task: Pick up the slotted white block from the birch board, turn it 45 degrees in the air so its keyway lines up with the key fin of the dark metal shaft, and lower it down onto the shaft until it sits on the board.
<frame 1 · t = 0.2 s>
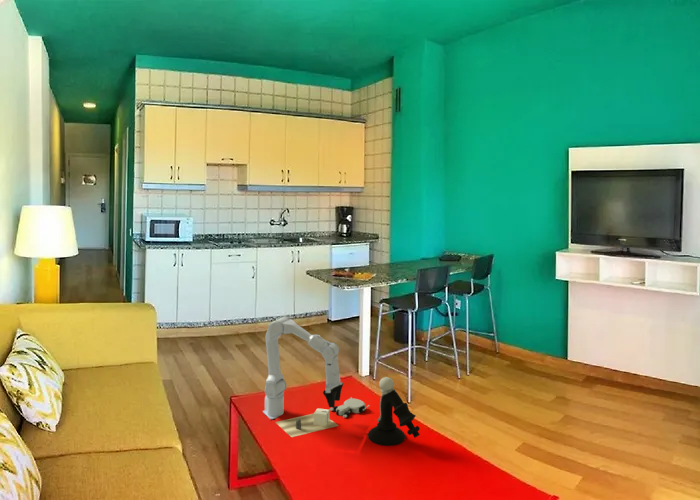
hand: (334, 403, 223), 10 cm above the table, tool pointing down, fingers open, 7 cm apart
slotted white block: (321, 422, 224), point 1 cm above the table, touching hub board
sculpture: (394, 441, 211), on the table
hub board: (306, 426, 223), on the table
robot toy: (349, 413, 237), on the table
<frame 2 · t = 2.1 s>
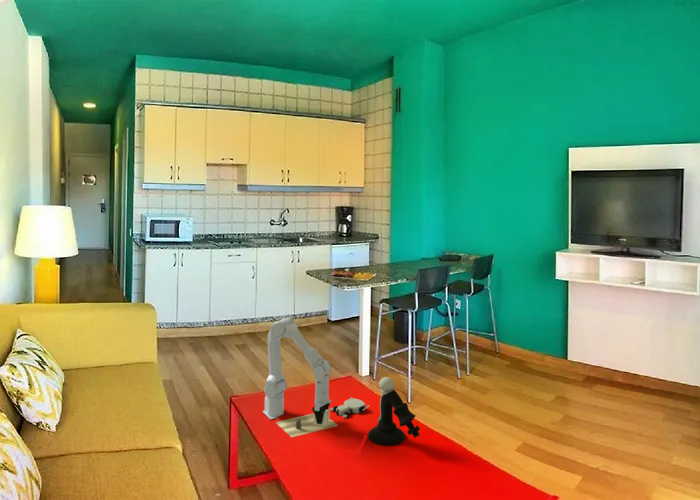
hand: (321, 420, 224), 2 cm above the table, tool pointing down, fingers closed on slotted white block, 5 cm apart
slotted white block: (321, 422, 224), point 1 cm above the table, touching gripper, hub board
everything else where it was.
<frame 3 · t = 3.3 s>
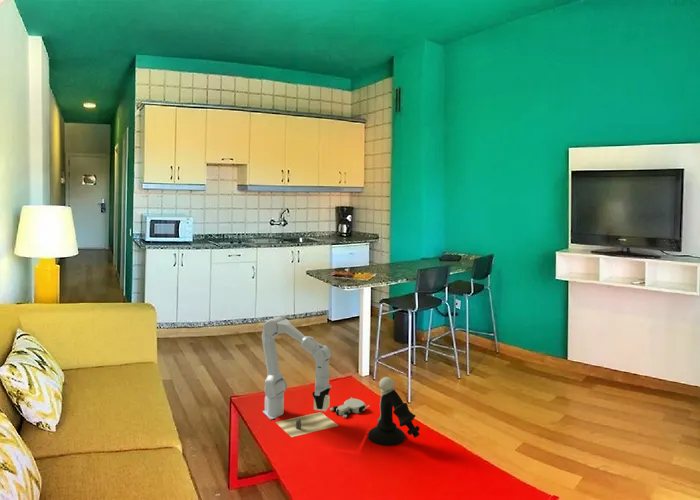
hand: (321, 405, 223), 8 cm above the table, tool pointing down, fingers closed on slotted white block, 5 cm apart
slotted white block: (321, 408, 224), point 8 cm above the table, touching gripper
everything else where it was.
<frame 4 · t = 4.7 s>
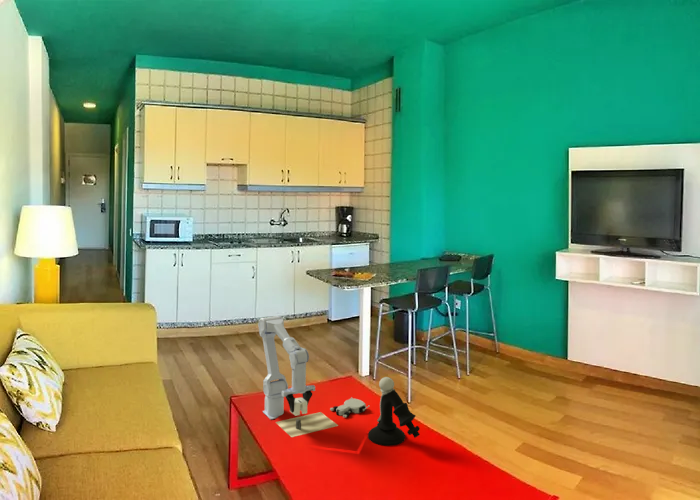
hand: (298, 410, 218), 9 cm above the table, tool pointing down, fingers closed on slotted white block, 5 cm apart
slotted white block: (298, 412, 218), point 8 cm above the table, touching gripper
everything else where it was.
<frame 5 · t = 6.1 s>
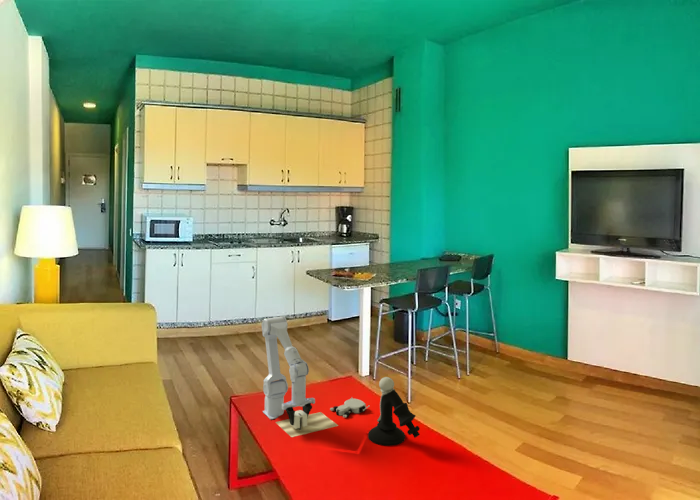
hand: (298, 422, 218), 3 cm above the table, tool pointing down, fingers closed on slotted white block, 5 cm apart
slotted white block: (298, 424, 218), point 2 cm above the table, touching gripper
everything else where it was.
when the fingers open (3 cm above the table, at t = 7.2 s): slotted white block stays where it is, resting on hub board.
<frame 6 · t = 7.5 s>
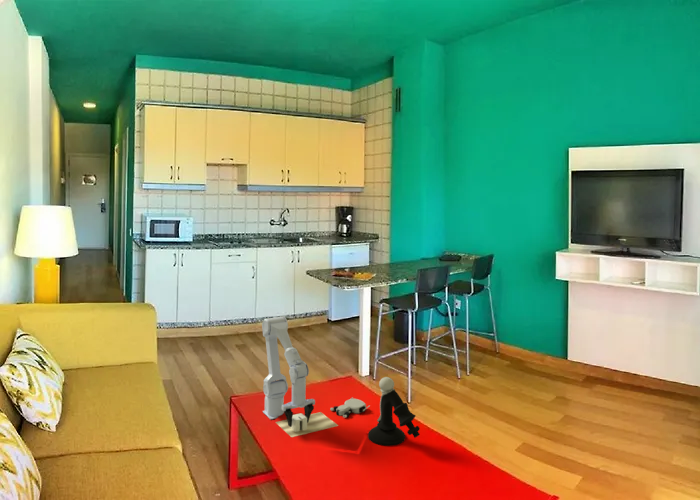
hand: (298, 423, 218), 3 cm above the table, tool pointing down, fingers open, 7 cm apart
slotted white block: (298, 428, 218), point 1 cm above the table, touching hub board
everything else where it was.
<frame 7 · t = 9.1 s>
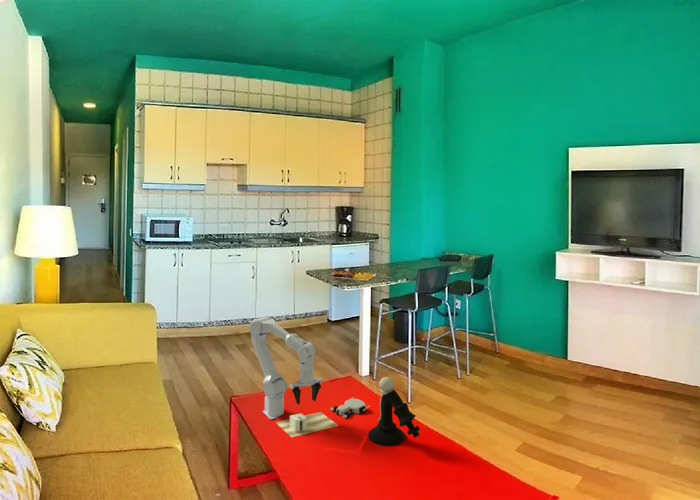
hand: (305, 401, 225), 9 cm above the table, tool pointing down, fingers open, 7 cm apart
nothing on the table moved.
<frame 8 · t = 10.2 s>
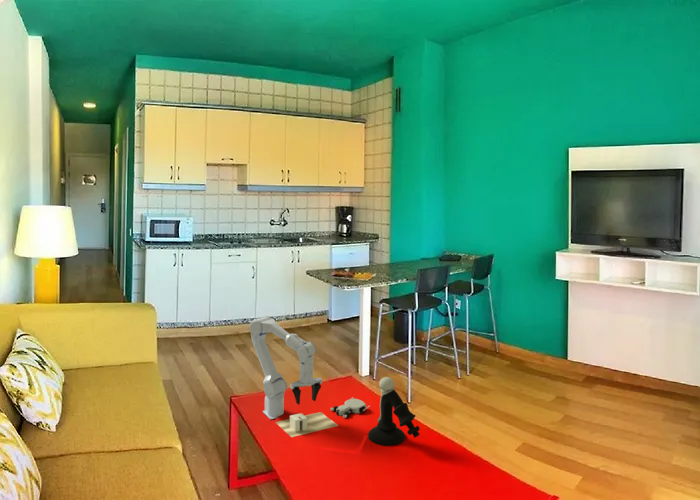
hand: (305, 401, 225), 9 cm above the table, tool pointing down, fingers open, 7 cm apart
nothing on the table moved.
at the end: slotted white block 0.1 cm from the target spot on the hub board, point 1.0 cm above the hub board's base; slotted white block tilted 0°; the gripper is holding nothing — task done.
